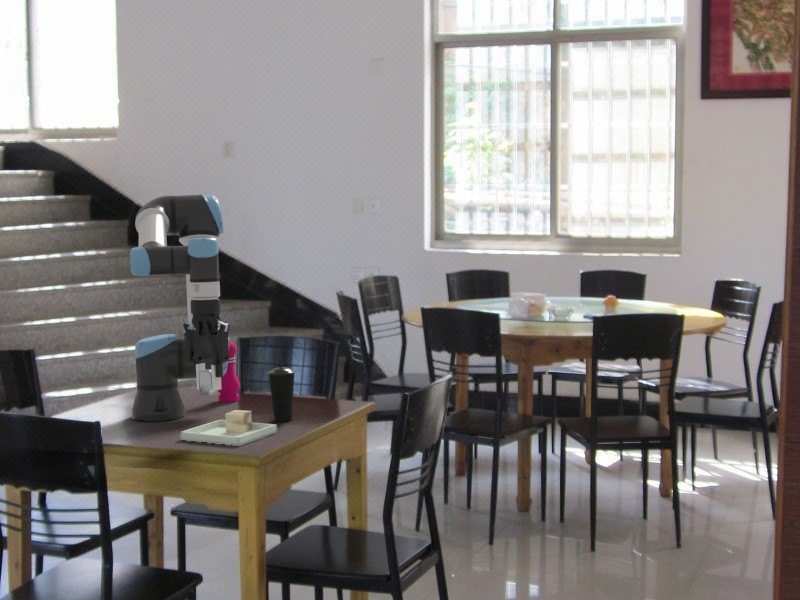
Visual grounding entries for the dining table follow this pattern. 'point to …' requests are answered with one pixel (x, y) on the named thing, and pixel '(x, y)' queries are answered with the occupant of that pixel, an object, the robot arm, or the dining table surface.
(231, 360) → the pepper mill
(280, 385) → the drinking cup
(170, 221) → the robot arm
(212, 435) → the tray
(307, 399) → the dining table surface
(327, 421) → the dining table surface
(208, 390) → the cylinder
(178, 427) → the dining table surface
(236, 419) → the beech block
